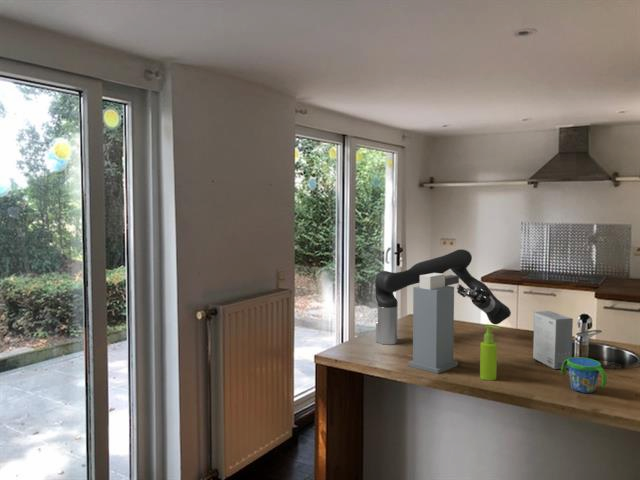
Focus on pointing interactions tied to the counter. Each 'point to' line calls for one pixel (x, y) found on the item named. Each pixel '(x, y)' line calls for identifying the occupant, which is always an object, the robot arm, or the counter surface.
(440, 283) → the block
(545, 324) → the hard drive box
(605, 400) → the counter surface
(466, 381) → the counter surface
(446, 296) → the grey rectangular pillar
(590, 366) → the snack cup
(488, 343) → the soap dispenser
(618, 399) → the counter surface
